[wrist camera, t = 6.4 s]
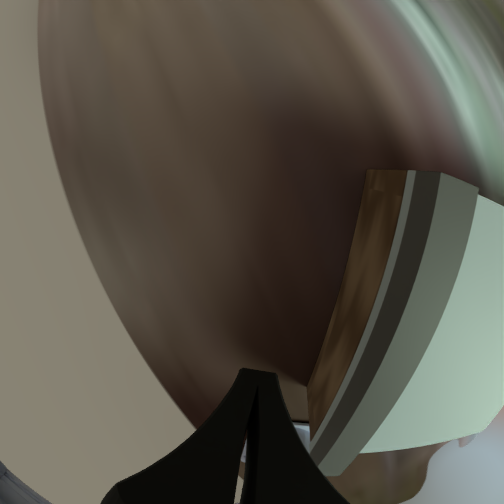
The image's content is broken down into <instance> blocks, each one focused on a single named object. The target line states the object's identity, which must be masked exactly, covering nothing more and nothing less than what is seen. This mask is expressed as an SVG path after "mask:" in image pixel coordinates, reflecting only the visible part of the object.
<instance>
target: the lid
mask: <svg viewBox="0 0 504 504" xmlns="http://www.w3.org/2000/svg"><path fill="white" fill-rule="evenodd" d="M478 191H479V188H478V187H475V186H473V185H471V184H469V183H466V182H464V181H462V180H459V179H457V178H455V177H452V176H450V175H447V174H445V173H442V172H432V171H416V170H408V172H407V178H406V184H405V190H404V195H403V200H402V205H401V210H400V214H399V219H398V223H397V228H396V232H395V236H394V240H393V244H392V247H391V251H390V255H389V258H388V262H387V265H386V269H385V272H384V276H383V279H382V282H381V285H380V288H379V291H378V294H377V297H376V300H375V303H374V306H373V309H372V312H371V315H370V317H369V320H368V323H367V325H366V328H365V331H364V333H363V336H362V338H361V341H360V343H359V346H358V348H357V351H356V353H355V355H354V358H353V360H352V362H351V365H350V367H349V369H348V371H347V374H346V376H345V378H344V380H343V382H342V384H341V386H340V388H339V391H338V393H337V395H336V397H335V399H334V401H333V403H332V405H331V406H330V408H329V410H328V412H327V414H326V416H325V418H324V420H323V422H322V423H321V425H320V427H319V429H318V431H317V432H316V434H315V436H314V438H313V439H312V441H311V443H310V444H309V449H310V456H311V458H312V459H313V461H314V462H315V464H316V465H317V467H318V468H319V469H320V471H321V472H322V473H323V474H324V476H339V475H340V474H341V473H342V472H343V471H344V470H345V469H346V468H347V467H348V465H349V464H350V463H351V462H352V461H353V460H354V458H355V457H356V456H357V455H358V454H359V453H369V452H381V451H391V450H399V449H407V448H413V447H419V446H425V445H430V444H435V443H440V442H444V441H449V440H453V439H457V438H461V437H464V436H468V435H471V434H475V433H478V432H481V431H483V430H484V429H485V428H486V427H487V426H488V424H489V423H490V422H491V421H492V420H493V418H494V417H495V416H496V415H497V413H498V412H499V411H500V409H501V408H502V407H503V405H504V206H502V205H500V204H498V203H496V202H493V201H491V200H489V199H487V198H485V197H483V196H480V195H478Z"/></svg>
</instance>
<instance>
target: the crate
mask: <svg viewBox="0 0 504 504" xmlns="http://www.w3.org/2000/svg"><path fill="white" fill-rule="evenodd" d="M407 172H408V171H407V170H381V169H367V172H366V178H365V183H364V189H363V194H362V199H361V204H360V209H359V214H358V219H357V223H356V228H355V232H354V237H353V241H352V245H351V249H350V253H349V257H348V261H347V265H346V269H345V273H344V276H343V280H342V284H341V287H340V291H339V294H338V298H337V301H336V304H335V308H334V311H333V314H332V317H331V320H330V324H329V327H328V330H327V333H326V336H325V339H324V342H323V345H322V348H321V350H320V353H319V356H318V359H317V362H316V364H315V367H314V370H313V372H312V375H311V378H310V380H309V383H308V385H307V398H308V413H309V430H310V442H311V441H312V439H313V438H314V436H315V434H316V432H317V431H318V429H319V427H320V425H321V423H322V422H323V420H324V418H325V416H326V414H327V412H328V410H329V408H330V406H331V405H332V403H333V401H334V399H335V397H336V395H337V393H338V391H339V388H340V386H341V384H342V382H343V380H344V378H345V376H346V374H347V371H348V369H349V367H350V365H351V362H352V360H353V358H354V355H355V353H356V351H357V348H358V346H359V343H360V341H361V338H362V336H363V333H364V331H365V328H366V325H367V323H368V320H369V317H370V315H371V312H372V309H373V306H374V303H375V300H376V297H377V294H378V291H379V288H380V285H381V282H382V279H383V276H384V272H385V269H386V265H387V262H388V258H389V255H390V251H391V247H392V244H393V240H394V236H395V232H396V228H397V223H398V219H399V214H400V210H401V205H402V200H403V195H404V190H405V184H406V178H407Z"/></svg>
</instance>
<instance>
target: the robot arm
mask: <svg viewBox="0 0 504 504" xmlns="http://www.w3.org/2000/svg"><path fill="white" fill-rule="evenodd" d="M246 430H247V439H246V442H245V446H244V449H243V453H242V456H241V452H242V446H243V440H244V437H245V433H246ZM310 443H311V442H310V430H309V424H308V423H295V422H292V420H291V418H290V415H289V413H288V410H287V408H286V405H285V402H284V399H283V396H282V393H281V389H280V385H279V381H278V376H277V374H276V373H272V372H265V371H259V370H253V369H247V368H242V369H240V370H239V373H238V375H237V378H236V380H235V382H234V383H233V385H232V387H231V388H230V390H229V392H228V393H227V395H226V396H225V397H224V399H223V400H222V402H221V403H220V404H219V406H218V407H217V408H216V409H215V411H214V412H213V413H212V414H211V415H210V416H209V418H208V419H207V420H206V421H205V422H204V423H203V424H202V425H201V426H200V427H199V428H198V429H197V430H196V431H195V432H194V433H193V434H192V435H191V436H190V437H189V438H188V439H187V440H185V441H184V442H183V443H182V444H181V445H179V446H178V447H177V448H176V449H174V450H173V451H172V452H170V453H169V454H168V455H166V456H165V457H163V458H162V459H160V460H159V461H157V462H155V463H154V464H152V465H151V466H149V467H147V468H146V469H144V470H142V471H140V472H138V473H136V474H134V475H132V476H130V477H128V478H126V479H124V480H122V481H120V482H118V483H116V484H115V485H114V486H113V487H112V488H111V490H110V491H109V492H108V493H107V494H106V496H105V497H104V498H103V500H102V502H101V504H234V499H235V492H236V485H237V478H238V472H239V465H240V459H241V461H243V462H245V474H244V482H243V488H242V494H241V499H240V503H235V504H350V503H349V502H348V501H347V500H346V499H345V498H344V497H343V496H342V495H341V494H340V493H339V492H338V491H337V490H336V489H335V488H334V487H333V485H332V484H331V483H330V482H329V481H328V479H327V478H326V477H325V476H324V474H323V473H322V472H321V471H320V469H319V468H318V467H317V465H316V464H315V462H314V461H313V459H312V458H311V456H310V449H309V444H310ZM0 504H52V503H50V502H49V501H47V500H46V499H44V498H43V497H41V496H40V495H39V494H38V493H36V492H35V491H34V490H32V489H31V488H30V487H28V486H27V485H26V484H25V483H23V482H22V481H21V480H20V479H18V478H17V477H16V476H15V475H14V474H13V473H11V472H10V471H9V470H8V469H7V468H6V467H5V465H4V464H3V463H2V462H1V461H0Z"/></svg>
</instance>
